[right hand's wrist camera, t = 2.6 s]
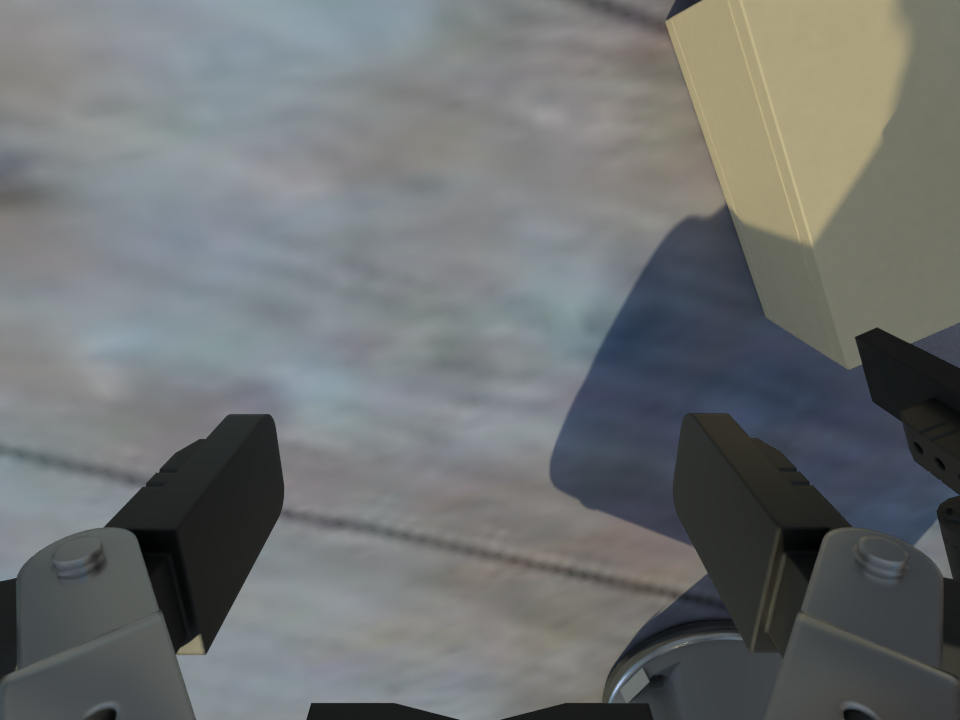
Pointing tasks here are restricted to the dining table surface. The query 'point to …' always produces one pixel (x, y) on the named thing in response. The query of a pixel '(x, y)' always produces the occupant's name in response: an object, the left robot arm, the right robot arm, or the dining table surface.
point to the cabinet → (836, 157)
